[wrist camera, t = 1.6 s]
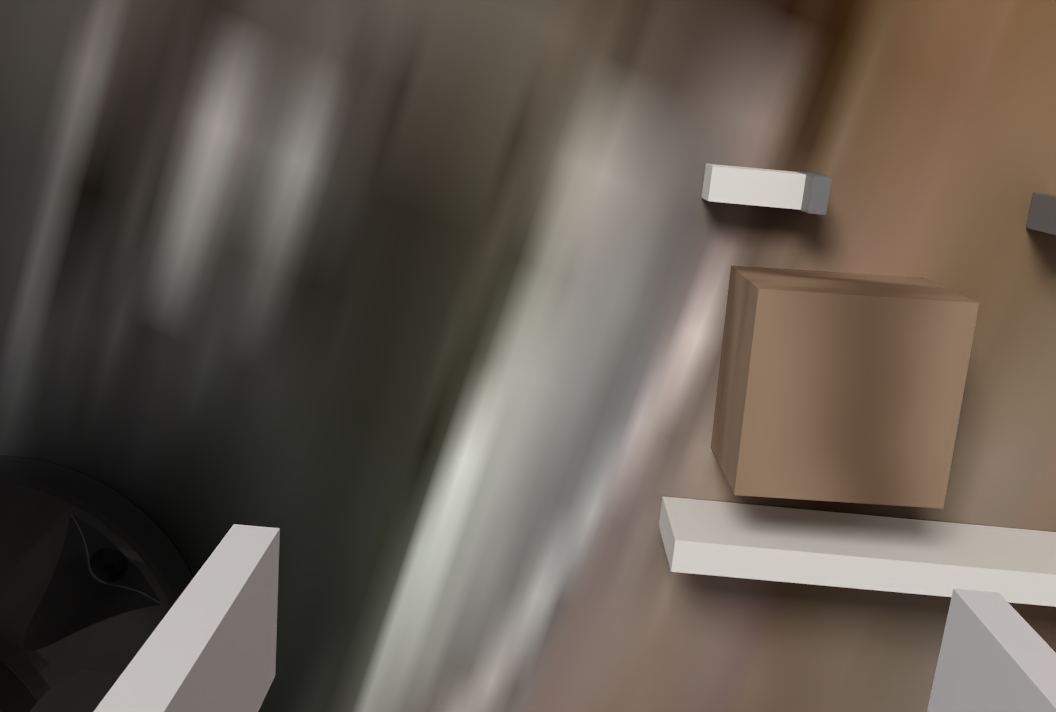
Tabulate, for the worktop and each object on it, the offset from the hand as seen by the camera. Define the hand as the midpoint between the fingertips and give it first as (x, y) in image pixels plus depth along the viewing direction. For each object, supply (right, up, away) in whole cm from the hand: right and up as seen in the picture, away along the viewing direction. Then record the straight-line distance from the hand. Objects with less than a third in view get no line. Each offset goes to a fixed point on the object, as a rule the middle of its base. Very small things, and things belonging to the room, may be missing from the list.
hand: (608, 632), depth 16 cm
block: (+9, +4, +21) cm, 23 cm away
